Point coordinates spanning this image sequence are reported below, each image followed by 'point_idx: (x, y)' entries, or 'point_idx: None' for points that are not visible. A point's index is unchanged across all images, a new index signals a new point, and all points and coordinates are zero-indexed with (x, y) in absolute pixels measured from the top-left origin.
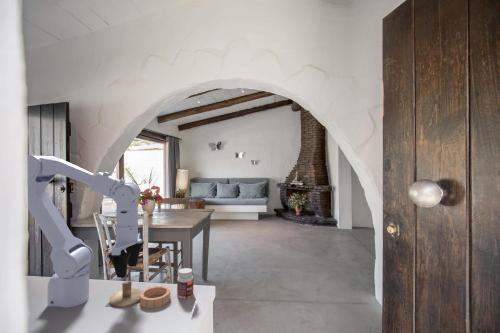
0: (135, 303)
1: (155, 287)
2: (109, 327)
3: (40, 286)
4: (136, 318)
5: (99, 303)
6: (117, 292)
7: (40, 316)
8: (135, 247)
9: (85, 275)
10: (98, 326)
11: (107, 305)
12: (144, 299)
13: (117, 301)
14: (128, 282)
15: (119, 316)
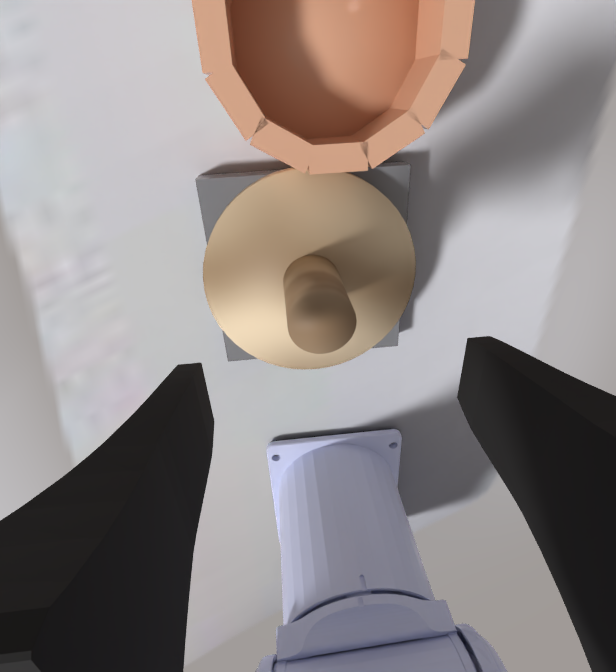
0: (375, 184)
1: (233, 70)
2: (562, 227)
3: (211, 633)
4: (506, 106)
5: (328, 392)
6: (274, 356)
7: (421, 516)
8: (130, 608)
9: (378, 580)
10: (539, 285)
11: (390, 338)
12: (450, 88)
13: (383, 301)
14: (314, 316)
15: (466, 228)
